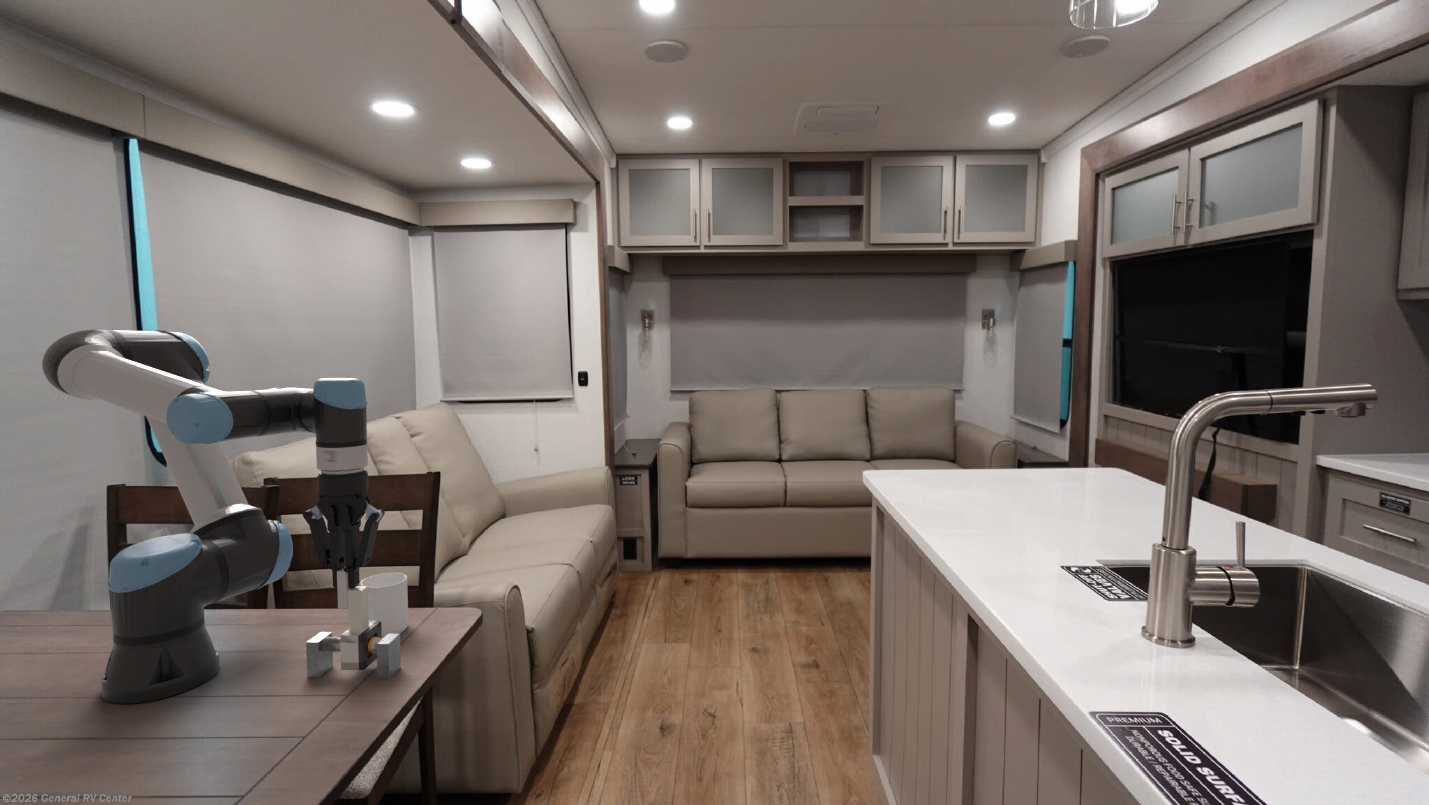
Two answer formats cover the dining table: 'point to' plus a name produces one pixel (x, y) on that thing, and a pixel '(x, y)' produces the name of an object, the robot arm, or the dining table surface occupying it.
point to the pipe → (325, 645)
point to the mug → (388, 601)
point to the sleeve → (358, 632)
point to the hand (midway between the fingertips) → (346, 605)
